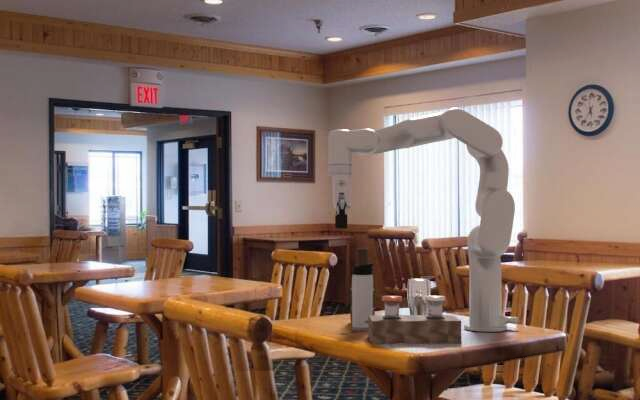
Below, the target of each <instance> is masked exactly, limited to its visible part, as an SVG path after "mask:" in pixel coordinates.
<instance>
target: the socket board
mask: <svg viewBox="0 0 640 400" xmlns="http://www.w3.org/2000/svg"><path fill="white" fill-rule="evenodd" d="M367 332H368V333H367V334H368V336H369V337H368V339H369V340H370V341H371V344H373V345H375V344H376V345H377V344H378V345H379V344H380V345H381V344H389V345H390V344H396V345H397V344H398V343H407V344H462V320H461V319H459V318H457V316H454V315H453V314H442V319H428V315H410V314H406V315H405V314H403V315H402V314H401V315H400V314H399V319H385V314H383V315H382V314H381V315H380V314H378V315H376V314H375V315H368V331H367Z"/></svg>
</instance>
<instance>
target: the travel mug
mask: <svg viewBox="0 0 640 400" xmlns="http://www.w3.org/2000/svg"><path fill="white" fill-rule="evenodd" d="M374 266H375V263H374V262H373V263H368V264H366V265H358V266H357V265H354V266H352V267H351V270H352V274H351V276H352V277H351V281H352V323H351V324H352V325H351V329H352V331H354V332H368V315H373V281H374V273H373V267H374Z"/></svg>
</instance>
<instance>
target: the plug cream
mask: <svg viewBox="0 0 640 400" xmlns="http://www.w3.org/2000/svg"><path fill="white" fill-rule="evenodd" d="M425 301H427V302H428V319H442V315H443V303H445V302H446V296H444V295H430V296H425Z"/></svg>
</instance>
